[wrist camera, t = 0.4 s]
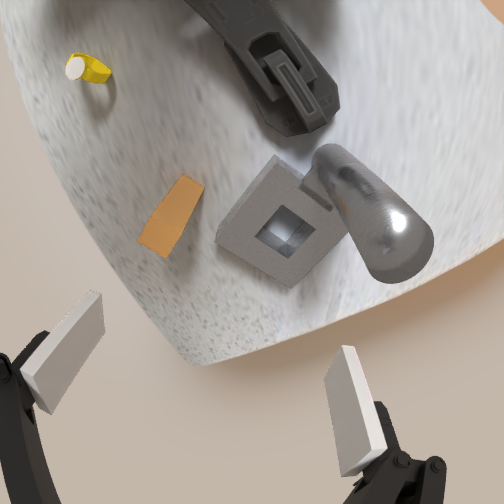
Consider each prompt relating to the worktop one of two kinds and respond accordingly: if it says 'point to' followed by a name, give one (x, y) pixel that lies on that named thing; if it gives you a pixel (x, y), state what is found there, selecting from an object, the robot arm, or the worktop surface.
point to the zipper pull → (273, 64)
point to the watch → (86, 69)
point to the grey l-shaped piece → (327, 220)
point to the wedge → (171, 216)
